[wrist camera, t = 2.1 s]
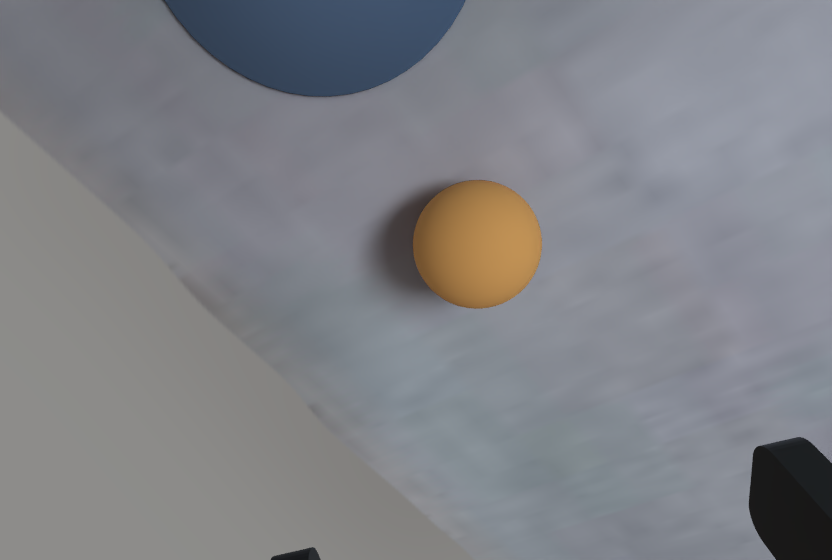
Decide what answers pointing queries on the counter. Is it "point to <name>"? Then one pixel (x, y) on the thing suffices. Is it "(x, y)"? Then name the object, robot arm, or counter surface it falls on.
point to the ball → (477, 244)
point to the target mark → (318, 39)
